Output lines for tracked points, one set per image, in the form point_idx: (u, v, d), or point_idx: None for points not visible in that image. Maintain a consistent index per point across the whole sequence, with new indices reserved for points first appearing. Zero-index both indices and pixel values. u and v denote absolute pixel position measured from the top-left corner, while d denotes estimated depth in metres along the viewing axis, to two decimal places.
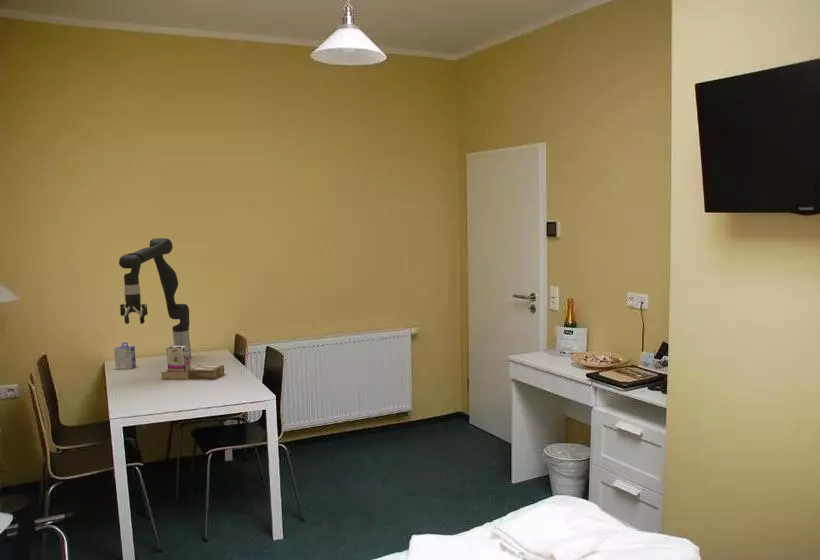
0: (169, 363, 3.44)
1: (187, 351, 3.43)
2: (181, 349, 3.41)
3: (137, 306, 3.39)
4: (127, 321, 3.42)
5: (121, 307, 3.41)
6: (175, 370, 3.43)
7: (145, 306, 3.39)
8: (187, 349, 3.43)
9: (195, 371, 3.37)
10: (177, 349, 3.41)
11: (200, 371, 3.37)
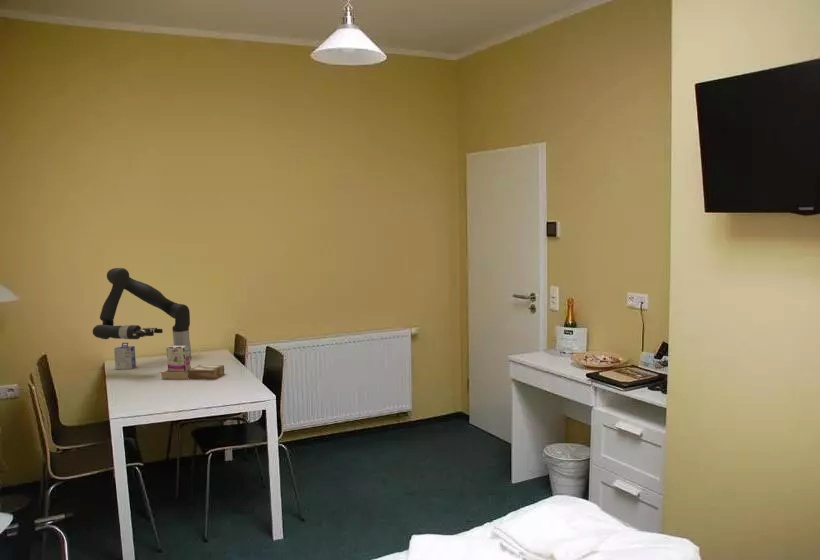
0: (169, 363, 3.44)
1: (187, 351, 3.43)
2: (181, 349, 3.41)
3: None
4: (159, 331, 3.49)
5: (149, 332, 3.53)
6: (175, 370, 3.43)
7: (134, 334, 3.40)
8: (187, 349, 3.43)
9: (195, 371, 3.37)
10: (177, 349, 3.41)
11: (200, 371, 3.37)
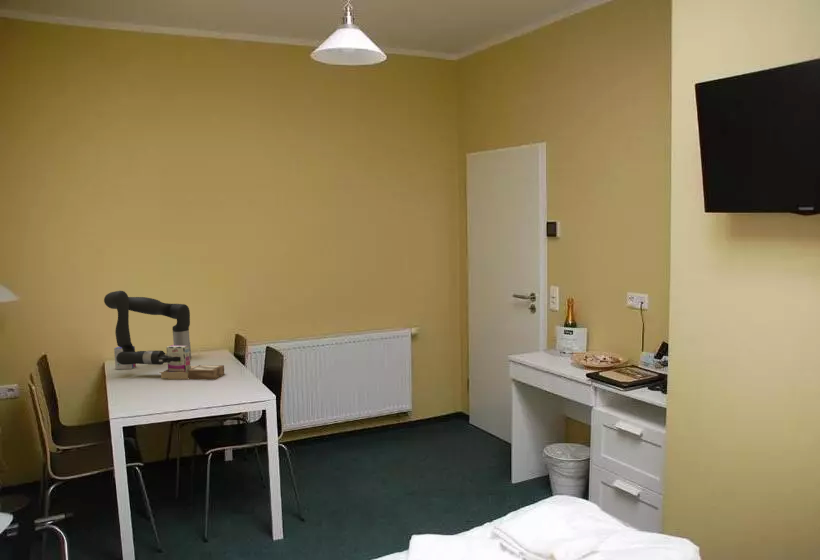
0: (169, 363, 3.44)
1: (187, 350, 3.43)
2: (181, 349, 3.41)
3: None
4: None
5: None
6: (175, 370, 3.43)
7: (161, 360, 3.39)
8: (187, 349, 3.43)
9: (195, 371, 3.37)
10: (177, 349, 3.41)
11: (200, 371, 3.37)
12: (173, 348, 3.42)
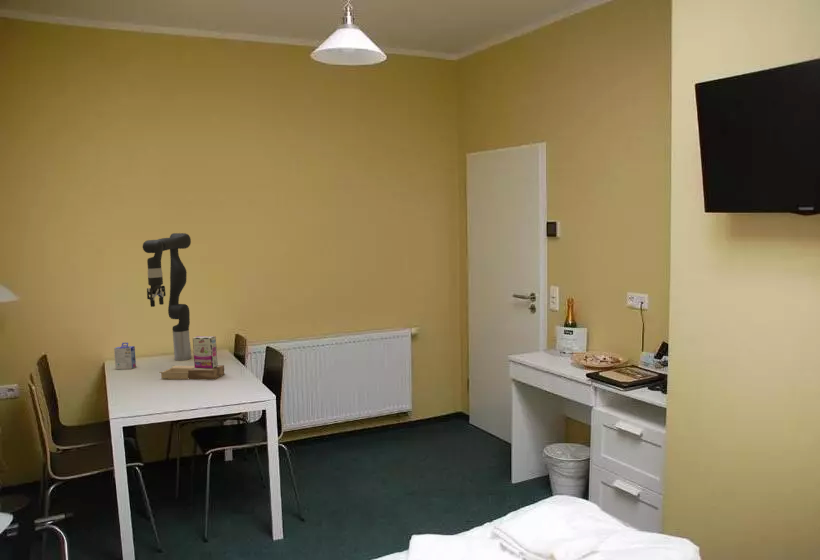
0: (195, 354, 3.40)
1: (213, 341, 3.40)
2: (208, 340, 3.38)
3: None
4: (160, 302, 3.63)
5: None
6: (202, 361, 3.40)
7: (149, 290, 3.51)
8: (214, 340, 3.40)
9: (195, 371, 3.37)
10: (203, 340, 3.38)
11: (200, 371, 3.37)
12: (200, 339, 3.39)
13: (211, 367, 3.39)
